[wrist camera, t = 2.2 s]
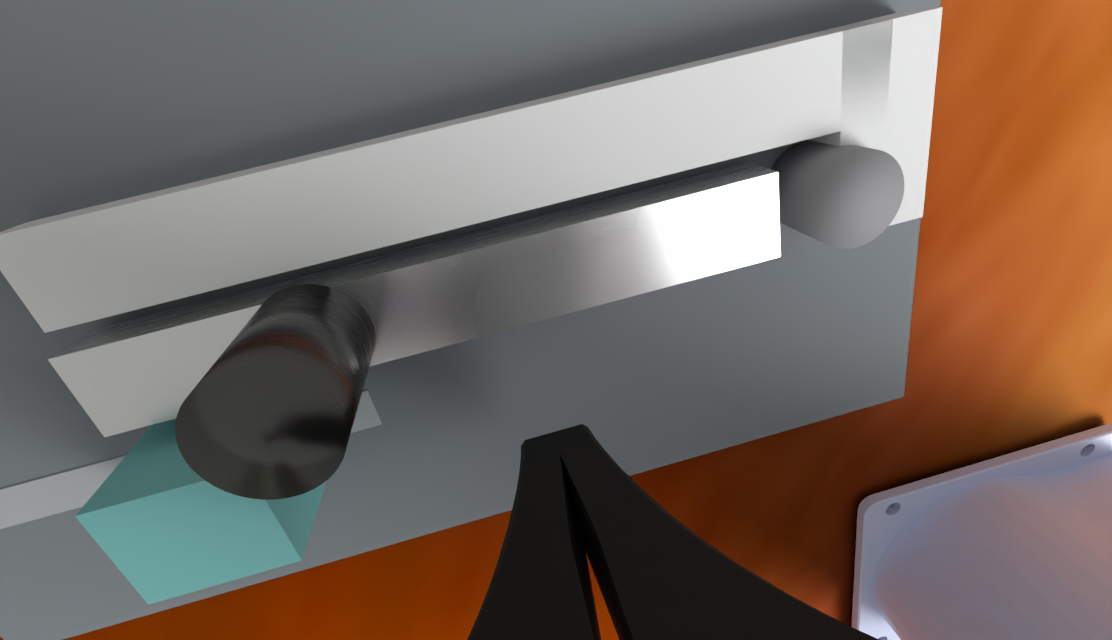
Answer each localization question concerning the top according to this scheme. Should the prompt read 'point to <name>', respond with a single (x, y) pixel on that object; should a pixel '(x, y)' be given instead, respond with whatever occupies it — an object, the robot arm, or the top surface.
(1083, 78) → the top surface
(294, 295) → the black knobbed slide plate
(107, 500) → the teal block
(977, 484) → the robot arm
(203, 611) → the top surface
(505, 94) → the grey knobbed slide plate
